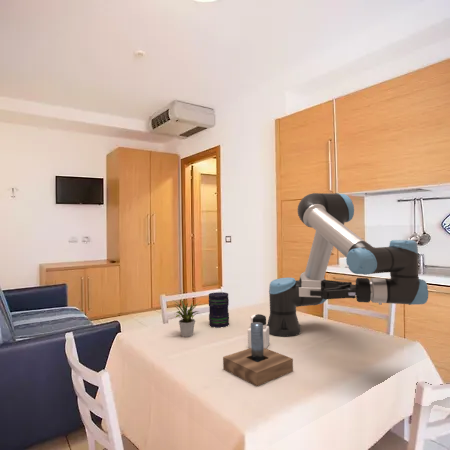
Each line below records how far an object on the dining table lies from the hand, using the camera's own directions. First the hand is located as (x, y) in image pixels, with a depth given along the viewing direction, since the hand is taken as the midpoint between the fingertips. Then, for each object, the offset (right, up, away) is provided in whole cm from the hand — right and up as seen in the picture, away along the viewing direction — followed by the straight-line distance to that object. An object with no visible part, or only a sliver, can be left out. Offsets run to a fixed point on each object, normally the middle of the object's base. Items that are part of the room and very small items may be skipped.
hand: (300, 287), depth 109 cm
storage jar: (-28, -28, +51) cm, 65 cm away
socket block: (-14, -27, -1) cm, 30 cm away
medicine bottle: (-11, -27, +21) cm, 36 cm away
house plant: (-43, -28, +37) cm, 63 cm away
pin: (-14, -27, -2) cm, 30 cm away
